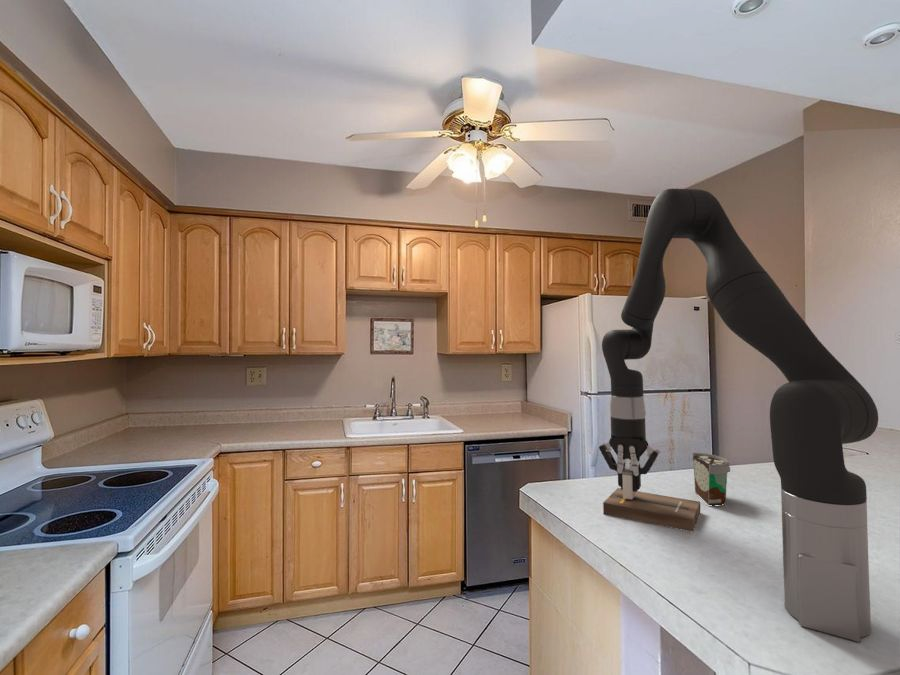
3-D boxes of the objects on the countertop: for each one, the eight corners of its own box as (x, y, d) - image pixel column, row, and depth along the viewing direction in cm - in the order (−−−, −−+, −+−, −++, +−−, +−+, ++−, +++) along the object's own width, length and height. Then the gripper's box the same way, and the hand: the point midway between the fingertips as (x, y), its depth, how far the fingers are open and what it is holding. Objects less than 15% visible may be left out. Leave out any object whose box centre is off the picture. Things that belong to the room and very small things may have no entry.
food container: (740, 510, 101) (739, 466, 101) (711, 508, 102) (710, 465, 103) (719, 492, 113) (718, 452, 113) (693, 491, 114) (692, 452, 115)
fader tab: (632, 499, 101) (631, 473, 101) (622, 497, 102) (621, 471, 102) (636, 494, 104) (635, 468, 104) (627, 492, 106) (626, 467, 106)
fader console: (693, 532, 90) (692, 519, 90) (603, 513, 101) (603, 502, 101) (700, 512, 100) (700, 501, 100) (618, 498, 111) (617, 487, 111)
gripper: (592, 415, 104) (594, 489, 104) (656, 420, 96) (658, 500, 96) (602, 410, 111) (604, 480, 110) (663, 415, 102) (665, 490, 102)
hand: (629, 489), depth 103 cm, fingers closed on fader tab, 2 cm apart
